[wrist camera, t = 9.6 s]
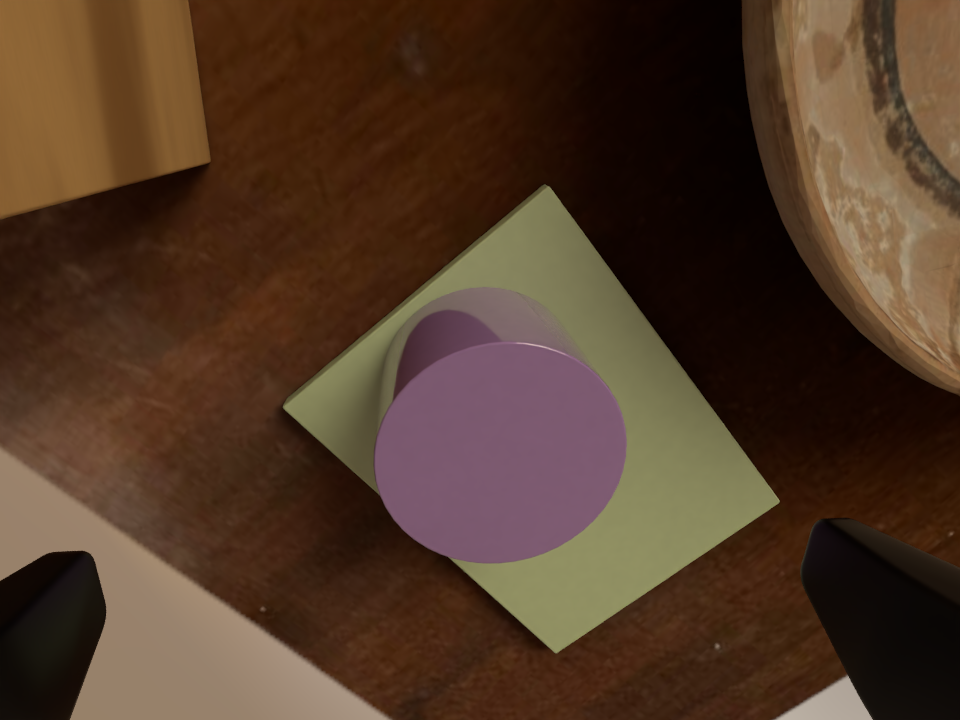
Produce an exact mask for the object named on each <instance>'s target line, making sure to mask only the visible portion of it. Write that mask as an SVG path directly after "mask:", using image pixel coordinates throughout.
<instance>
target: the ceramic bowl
mask: <svg viewBox="0 0 960 720" xmlns="http://www.w3.org/2000/svg"><path fill="white" fill-rule="evenodd" d="M742 46H743V56H744V67H745V77H746V88H747V94H748V101H749V107H750V113H751V119H752V124H753V128H754V133H755V137H756V141H757V146H758V150H759V154H760V158H761V161H762V165H763V168H764V172H765V175H766V179H767V182H768V186H769V189H770V191H771V194H772V196H773V199H774V201H775V204H776V207H777V209H778V212H779V214H780V217H781V219H782V222H783V224H784V226H785V228H786V230H787V232H788V234H789V235H790V237H791V239H792V241H793V243H794V245H795V247H796V249H797V251H798V253H799V255H800V256H801V258H802V259H803V261H804V262H805V264H806V265H807V267H808V268H809V270H810V271H811V273H812V274H813V276H814V278H815V279H816V281H817V282H818V284H819V285H820V287H821V288H822V289H823V291H824V292H825V293H826V294H827V296H828V297H829V298H830V299H831V301H832V302H833V303H834V304H835V305H836V307H837V308H838V309H839V310H840V311H841V312H842V313H843V314H844V315H845V316H846V318H847V319H848V320H849V321H850V322H851V323H852V324H853V325H854V326H855V327H856V328H857V330H858V331H859V332H860V333H862V334H863V335H864V336H865V337H866V338H867V339H869V340H870V341H871V342H872V343H873V344H875V345H876V346H877V347H878V348H879V349H881V350H882V351H883V352H884V353H886V354H887V355H888V356H889V357H890V358H892V359H893V360H894V361H896V362H897V363H899V364H900V365H901V366H903V367H904V368H905V369H907V370H909V371H910V372H912V373H913V374H915V375H916V376H918V377H919V378H921V379H923V380H925V381H927V382H929V383H931V384H933V385H935V386H937V387H940V388H942V389H944V390H947V391H949V392H952V393H954V394H956V395H959V396H960V0H742Z"/></svg>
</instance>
